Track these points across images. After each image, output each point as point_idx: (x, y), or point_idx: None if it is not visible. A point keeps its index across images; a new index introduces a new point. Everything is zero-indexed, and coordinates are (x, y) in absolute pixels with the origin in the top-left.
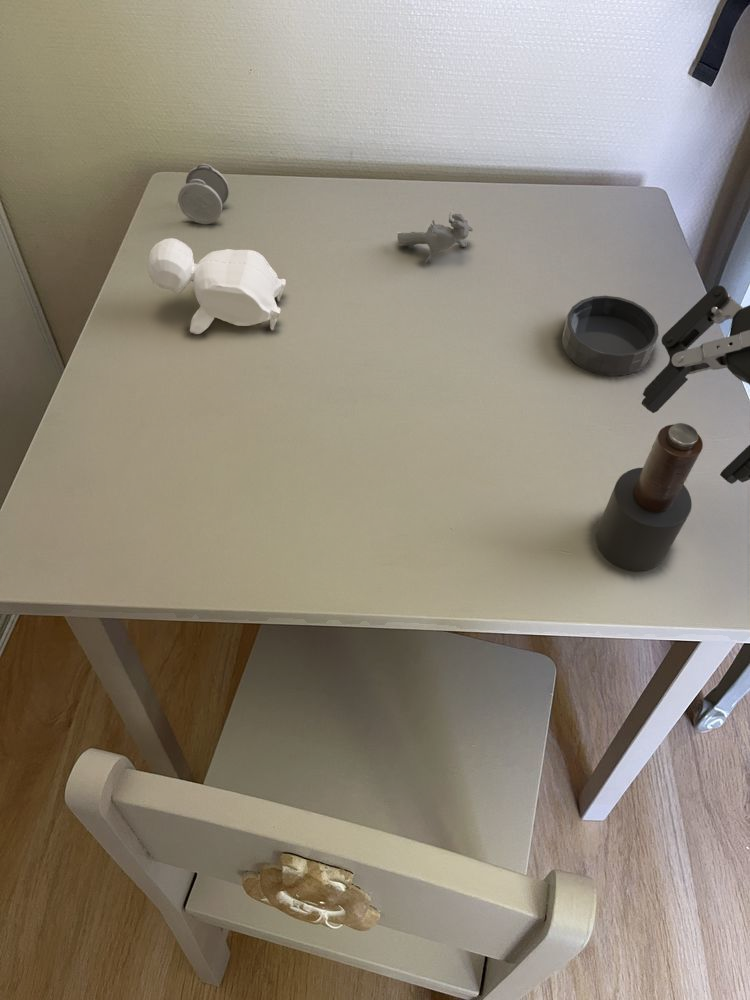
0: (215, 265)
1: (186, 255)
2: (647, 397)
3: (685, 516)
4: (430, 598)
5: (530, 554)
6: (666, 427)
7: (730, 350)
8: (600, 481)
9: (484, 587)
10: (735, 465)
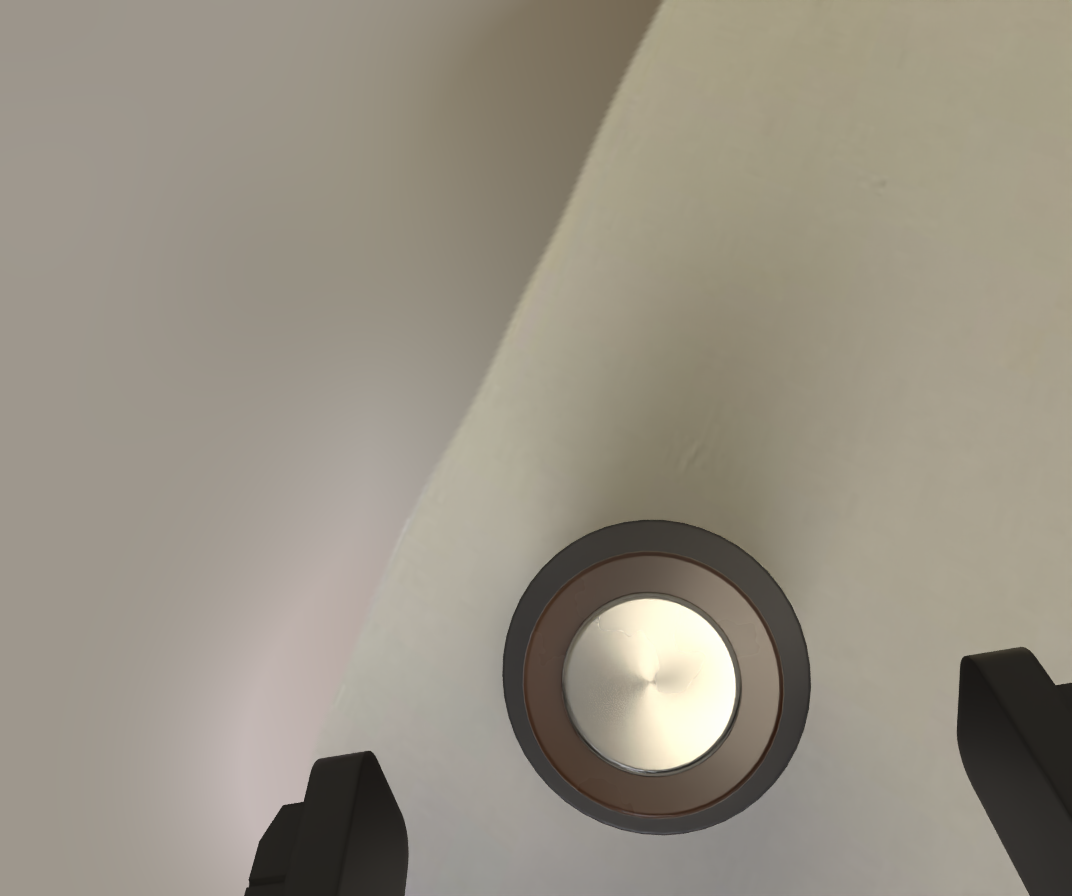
0: None
1: None
2: (1032, 673)
3: (521, 734)
4: (682, 64)
5: (720, 357)
6: (767, 660)
7: None
8: (921, 714)
9: (663, 198)
10: (318, 818)
